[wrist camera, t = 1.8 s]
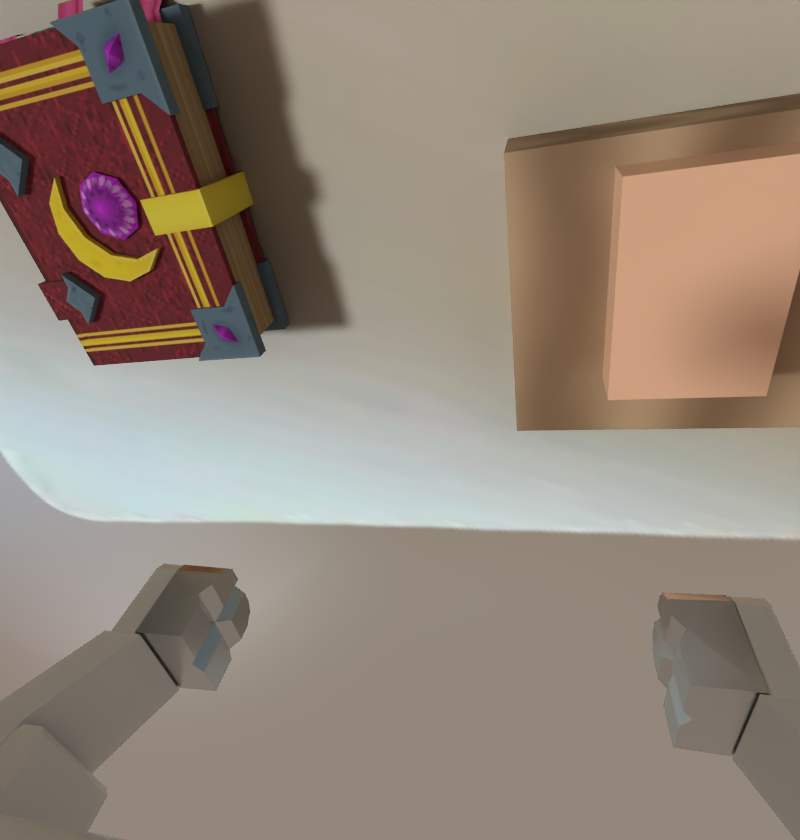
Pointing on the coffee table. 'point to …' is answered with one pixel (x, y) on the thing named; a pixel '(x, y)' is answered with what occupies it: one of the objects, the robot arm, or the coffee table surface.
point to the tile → (701, 273)
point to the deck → (589, 269)
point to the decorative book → (131, 187)
